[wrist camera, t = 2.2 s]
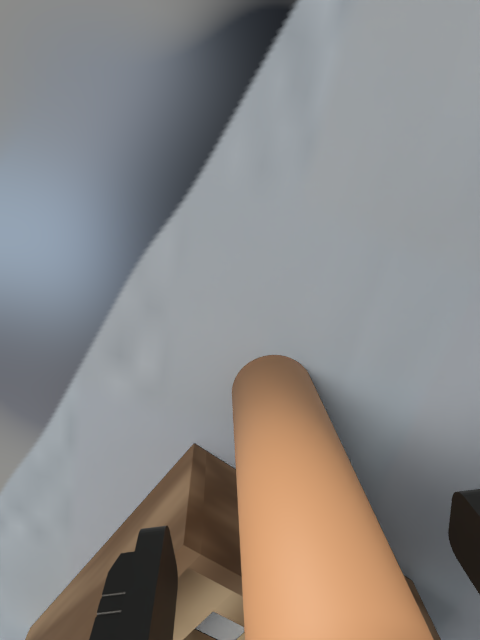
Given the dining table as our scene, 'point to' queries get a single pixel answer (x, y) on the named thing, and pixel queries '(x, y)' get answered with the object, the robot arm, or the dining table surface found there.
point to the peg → (308, 521)
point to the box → (190, 552)
